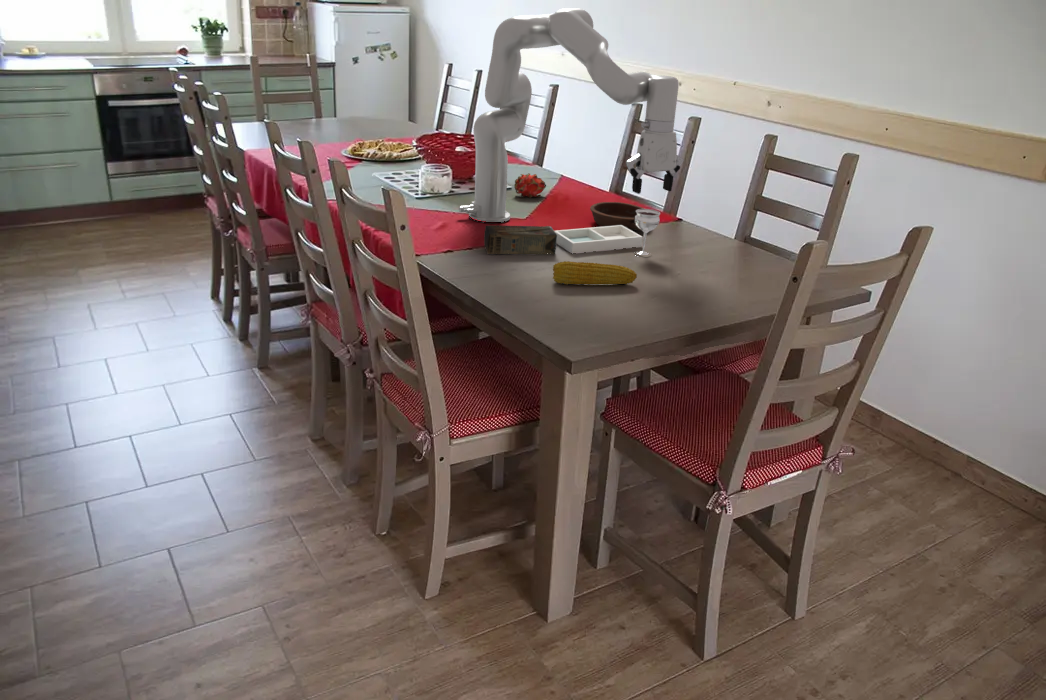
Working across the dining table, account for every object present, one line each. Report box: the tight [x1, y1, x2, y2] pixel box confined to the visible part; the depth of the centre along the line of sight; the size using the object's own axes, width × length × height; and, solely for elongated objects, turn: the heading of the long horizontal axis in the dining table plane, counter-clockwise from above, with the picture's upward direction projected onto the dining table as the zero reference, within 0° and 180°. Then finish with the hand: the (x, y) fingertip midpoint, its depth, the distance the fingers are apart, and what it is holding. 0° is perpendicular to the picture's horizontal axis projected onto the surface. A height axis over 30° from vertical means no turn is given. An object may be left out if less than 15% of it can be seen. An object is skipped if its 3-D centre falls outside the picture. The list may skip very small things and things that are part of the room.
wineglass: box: [635, 208, 661, 255], centre depth 227 cm, size 7×7×12 cm
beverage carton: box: [483, 224, 557, 255], centre depth 226 cm, size 8×19×7 cm, turn 101°
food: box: [552, 260, 638, 285], centre depth 205 cm, size 21×6×6 cm, turn 97°
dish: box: [589, 201, 645, 232], centre depth 254 cm, size 18×22×5 cm
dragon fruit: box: [513, 173, 547, 199], centre depth 277 cm, size 8×8×12 cm
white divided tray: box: [554, 225, 644, 255], centre depth 235 cm, size 22×12×3 cm, turn 115°
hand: (651, 191), depth 222 cm, fingers open, 9 cm apart
